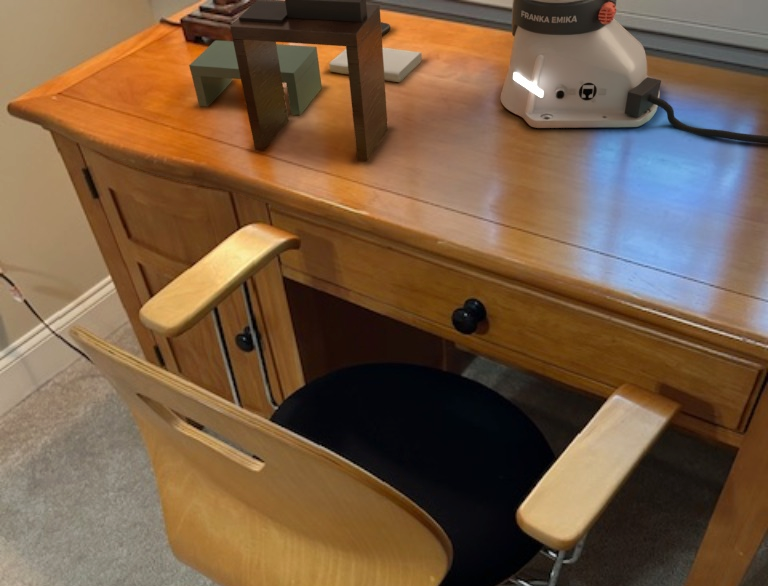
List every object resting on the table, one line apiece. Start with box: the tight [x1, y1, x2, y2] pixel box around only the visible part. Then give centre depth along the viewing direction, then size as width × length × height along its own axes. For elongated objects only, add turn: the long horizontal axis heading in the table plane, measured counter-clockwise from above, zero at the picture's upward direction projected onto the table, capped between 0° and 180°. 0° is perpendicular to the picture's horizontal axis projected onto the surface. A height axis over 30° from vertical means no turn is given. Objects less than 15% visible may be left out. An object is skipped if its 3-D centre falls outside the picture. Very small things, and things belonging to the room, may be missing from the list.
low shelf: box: [188, 39, 323, 116], centre depth 120 cm, size 17×9×6 cm, turn 71°
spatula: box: [238, 0, 367, 23], centre depth 99 cm, size 16×6×2 cm, turn 71°
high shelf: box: [229, 0, 389, 163], centre depth 106 cm, size 17×9×16 cm, turn 71°
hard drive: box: [328, 46, 423, 83], centre depth 126 cm, size 2×8×12 cm
